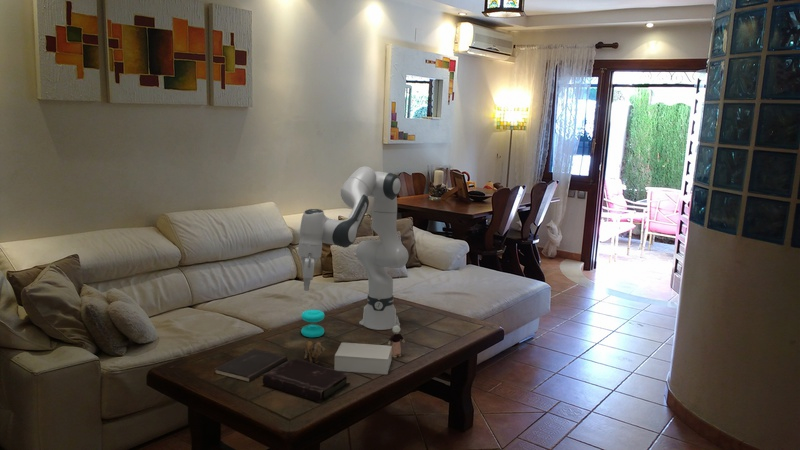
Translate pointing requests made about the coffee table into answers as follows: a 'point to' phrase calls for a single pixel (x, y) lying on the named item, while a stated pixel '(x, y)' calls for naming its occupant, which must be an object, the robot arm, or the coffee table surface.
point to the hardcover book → (251, 365)
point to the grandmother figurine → (396, 341)
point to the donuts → (312, 329)
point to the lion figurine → (313, 350)
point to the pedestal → (363, 358)
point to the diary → (306, 379)
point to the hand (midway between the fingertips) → (306, 288)
